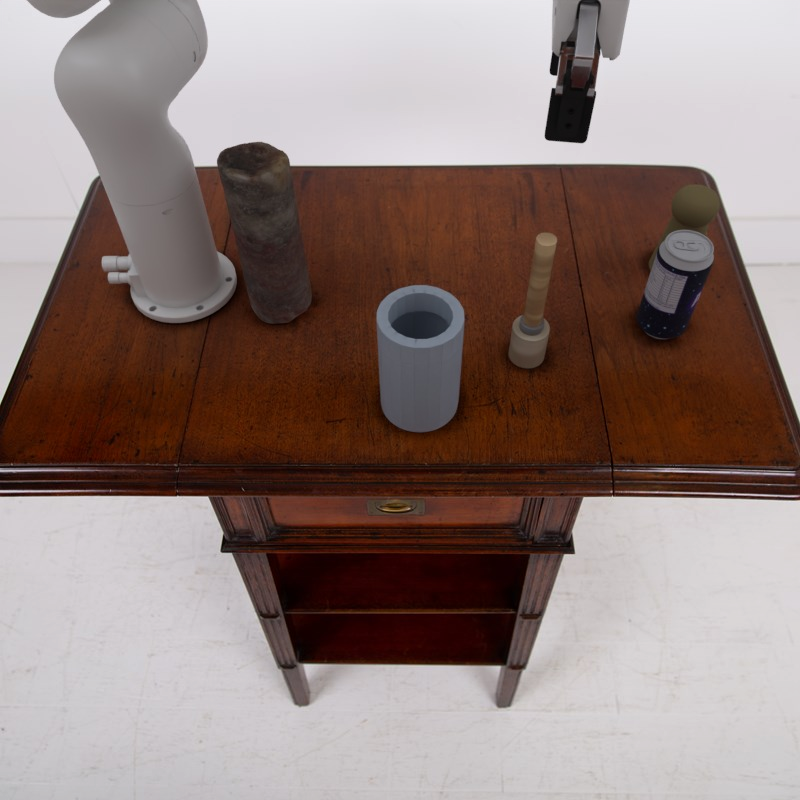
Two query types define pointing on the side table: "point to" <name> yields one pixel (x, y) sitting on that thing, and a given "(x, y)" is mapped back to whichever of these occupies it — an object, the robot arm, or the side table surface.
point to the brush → (534, 308)
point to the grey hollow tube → (420, 356)
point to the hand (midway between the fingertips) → (566, 105)
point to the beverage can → (675, 284)
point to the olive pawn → (691, 212)
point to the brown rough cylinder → (266, 229)
